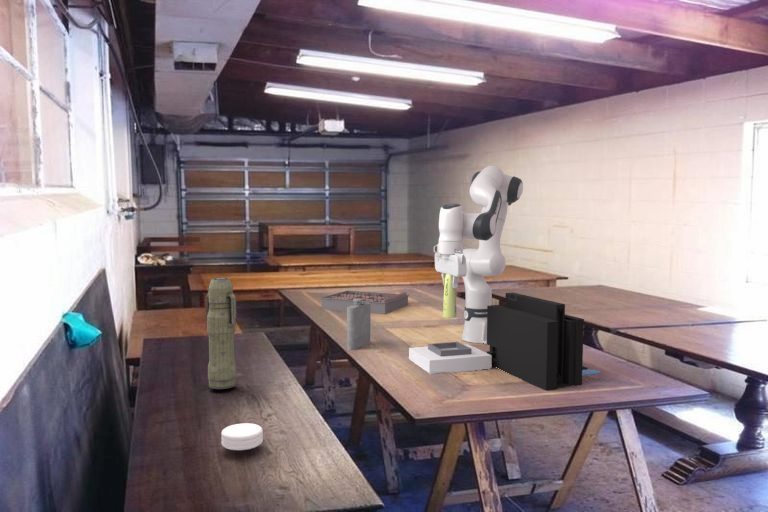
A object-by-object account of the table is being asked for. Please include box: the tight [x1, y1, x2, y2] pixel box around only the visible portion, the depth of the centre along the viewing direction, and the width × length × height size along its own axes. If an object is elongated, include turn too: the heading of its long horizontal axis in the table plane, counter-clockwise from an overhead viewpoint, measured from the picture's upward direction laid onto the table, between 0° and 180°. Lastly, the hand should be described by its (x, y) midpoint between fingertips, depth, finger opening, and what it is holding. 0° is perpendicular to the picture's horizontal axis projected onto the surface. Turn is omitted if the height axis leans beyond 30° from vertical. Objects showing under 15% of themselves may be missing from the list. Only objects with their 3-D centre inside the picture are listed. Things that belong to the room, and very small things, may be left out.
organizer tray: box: [320, 290, 410, 315], centre depth 349 cm, size 32×40×10 cm
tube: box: [442, 274, 457, 319], centre depth 229 cm, size 6×5×20 cm
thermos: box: [205, 276, 237, 390], centre depth 204 cm, size 9×12×35 cm
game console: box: [486, 292, 601, 391], centre depth 222 cm, size 35×30×27 cm
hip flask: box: [346, 299, 371, 351], centre depth 259 cm, size 16×4×20 cm, turn 152°
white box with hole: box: [408, 341, 492, 376], centre depth 231 cm, size 24×20×7 cm
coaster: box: [220, 422, 264, 451], centre depth 156 cm, size 10×10×4 cm
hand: (450, 286), depth 229 cm, fingers closed on tube, 6 cm apart
